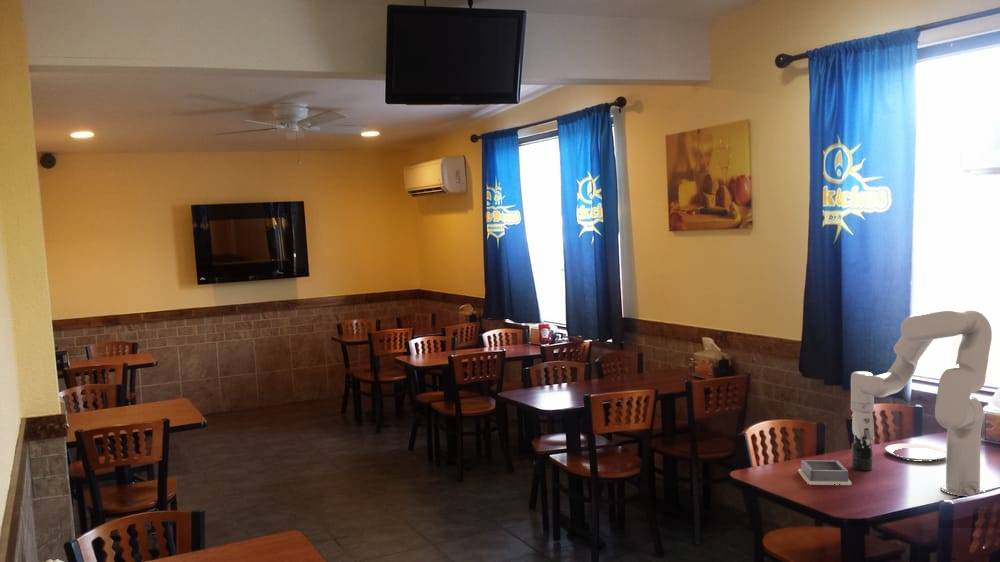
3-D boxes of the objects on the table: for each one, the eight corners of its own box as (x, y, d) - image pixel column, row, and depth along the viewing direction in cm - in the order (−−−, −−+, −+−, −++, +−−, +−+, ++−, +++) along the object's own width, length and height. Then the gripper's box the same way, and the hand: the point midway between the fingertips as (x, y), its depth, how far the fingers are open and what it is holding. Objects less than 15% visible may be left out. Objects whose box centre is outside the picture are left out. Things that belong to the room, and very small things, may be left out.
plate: (884, 461, 297) (884, 455, 297) (886, 446, 315) (886, 441, 315) (948, 467, 287) (948, 461, 287) (947, 452, 306) (947, 446, 305)
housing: (851, 485, 271) (851, 472, 271) (808, 484, 273) (808, 471, 273) (839, 472, 285) (839, 459, 285) (798, 471, 287) (798, 459, 286)
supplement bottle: (875, 471, 285) (876, 437, 284) (856, 471, 285) (856, 438, 284) (867, 465, 292) (867, 432, 291) (848, 465, 292) (848, 433, 291)
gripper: (881, 412, 278) (881, 463, 279) (865, 401, 295) (865, 448, 296) (858, 412, 279) (858, 462, 280) (844, 401, 296) (843, 448, 297)
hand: (861, 455), depth 288 cm, fingers closed on supplement bottle, 6 cm apart
